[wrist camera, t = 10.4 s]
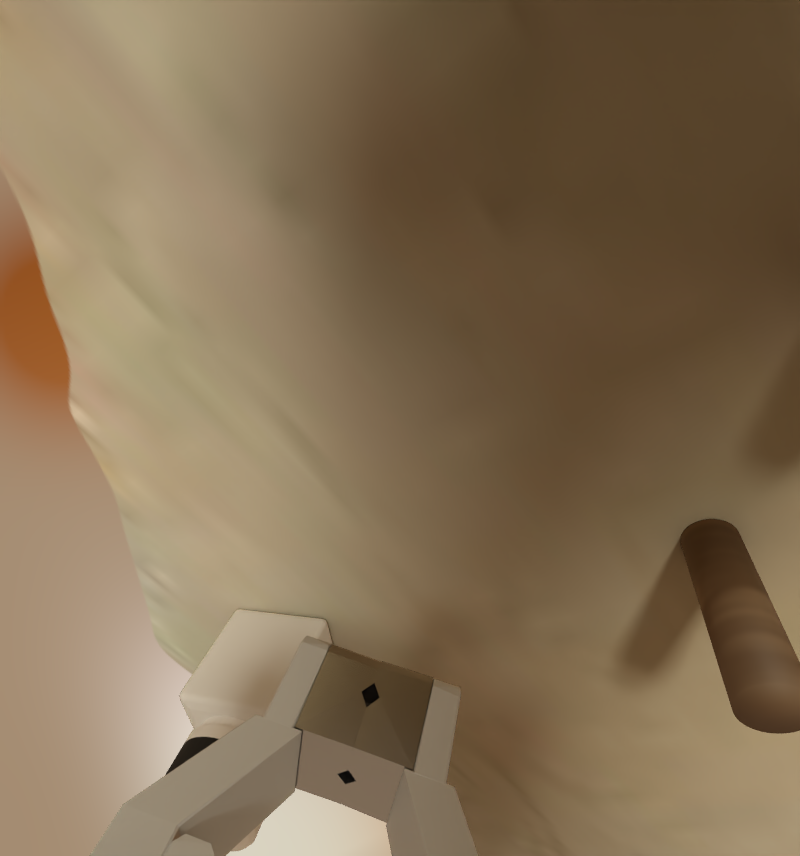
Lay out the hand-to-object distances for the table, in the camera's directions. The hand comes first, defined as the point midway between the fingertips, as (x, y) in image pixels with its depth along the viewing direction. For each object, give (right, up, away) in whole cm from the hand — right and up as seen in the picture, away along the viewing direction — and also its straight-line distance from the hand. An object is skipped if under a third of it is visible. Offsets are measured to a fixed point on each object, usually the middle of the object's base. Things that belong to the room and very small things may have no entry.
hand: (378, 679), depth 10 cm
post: (+16, -1, +16) cm, 22 cm away
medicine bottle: (-7, -11, +29) cm, 32 cm away
